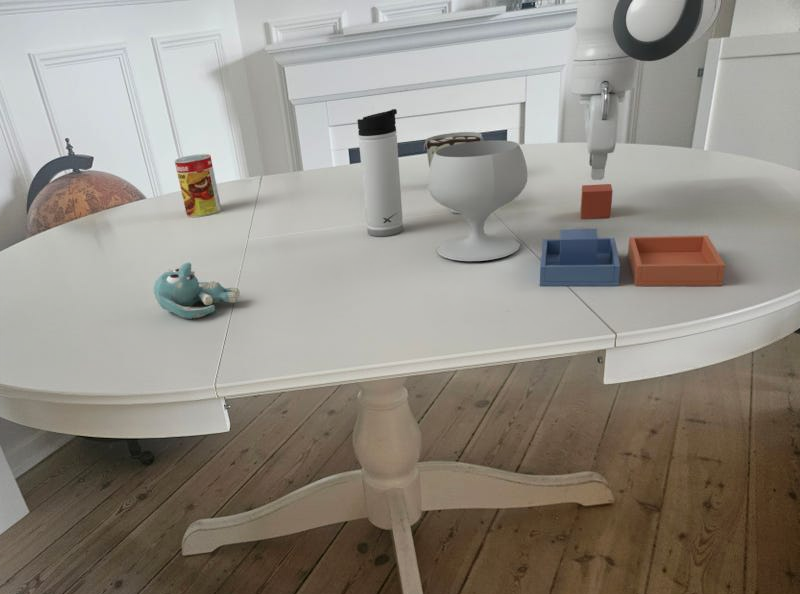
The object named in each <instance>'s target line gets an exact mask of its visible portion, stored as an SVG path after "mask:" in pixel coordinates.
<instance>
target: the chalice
mask: <svg viewBox="0 0 800 594" xmlns="http://www.w3.org/2000/svg"><path fill="white" fill-rule="evenodd" d="M527 182H528V167H527V161H526V157H525V155H524V151H523V150H522V148H521V146H520V144H519V143H518V142H515V141H511V140H502V139H501V140H499V139H498V140H497V139H495V140H493V139H491V140H484V141H475V142H467V143H460V144H455V145H451V146H447V147H444V148H441V149H439V150H437V151H436V152H435V154H434V156H433V158H432V161H431V165H430V168H429V169H428V175H427V189H428V192H429V194H430V196H431V197H432V199H434V201H435V202H437V203H438V204H440V205H441V206H443V207H445V208H447V209H449V210H450V209H452V210H454V211H456V212H458V213H457V214H459V213H460V215H461V216H463V217H464V218H466V220H467V221H468V222H469V224H470V228H471V230H470V234H467V235H461V236H457V237H454V238H451V239H449V240H445V241H444V242H443V243H441V244H440V245H439V246H438V247H437V251H436V252H437V253H438V254H439V255H440V256H441V257H443V258H445V259H449V260H452V261H460V262H481V261H489V260H490V261H491V260H495V259H502V258H504V257H507V256H510V255H512V254H514V253H516V252H517V251H518V250H519V248H520V243H519V241H517V240H516V239H514V238H513V237H510V236H506V235H502V234H492V233H485V227H484V226H485V223H486V221H487V219H488V218H489V217H490V216H491V215H492V214H493V213H494V212H496V211H497V210H498V209H500V208H502V207H504V206H505V205H508V204H509V203H511V202H512V201H513V200H515V199H516V198H518V197H519V196H520V195H521V193H522V192H523V190H524V189H525V188H526V186H527Z"/></svg>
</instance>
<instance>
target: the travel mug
mask: <svg viewBox="0 0 800 594" xmlns="http://www.w3.org/2000/svg"><path fill="white" fill-rule="evenodd" d="M397 114H398V110H397V109H396V108H392V109H390V110H387V111H383V112H378V113H377V112H376V113H373V114H370V115H366V116H363V117H362V118H361V119H360V118H358V119H357V129H358V135H357V136H358V144H359V145H358V146H359V154H360V155H359V157H360V166H361V177H362V186H363V189H362V190H363V199H364V208H365V209H364V210H365V216H366V217H365V219H366V228H367V229H366V230H367V234H368V235H370V236H372V237H378V238H379V237H381V238H383V237H391V236H395V235H398V234H400V233H401V232H403V230H404V221H403V206H402V191H401V177H400V161H399V149H398V135H397V133H398V132H397V127H396V115H397Z"/></svg>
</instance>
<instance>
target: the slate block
mask: <svg viewBox="0 0 800 594" xmlns="http://www.w3.org/2000/svg"><path fill="white" fill-rule="evenodd" d="M598 238H599V236H598V229H597V228H574V229H573V228H570V229H568V228H566V229H560V237H559V239H560V258H559V265H596V260H597V247H598Z"/></svg>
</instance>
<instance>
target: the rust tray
mask: <svg viewBox="0 0 800 594" xmlns="http://www.w3.org/2000/svg"><path fill="white" fill-rule="evenodd" d="M627 248H628V249H627V258H628V262H629V267H630V271H631V275H632V279H633V284H634V286H635V287H722V286H723V280H724V277H725V270H726V263H725V262H724V261H723V259H722V257H721V255H720V254H719V252H718V251H717V249H716V247H715V246H714V244H713V242H712V240H711V239H710V237H709V235H704V234H703V235H676V236H675V235H667V236H663V235H661V236H635V237H634V236H630V237H628V247H627Z"/></svg>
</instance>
